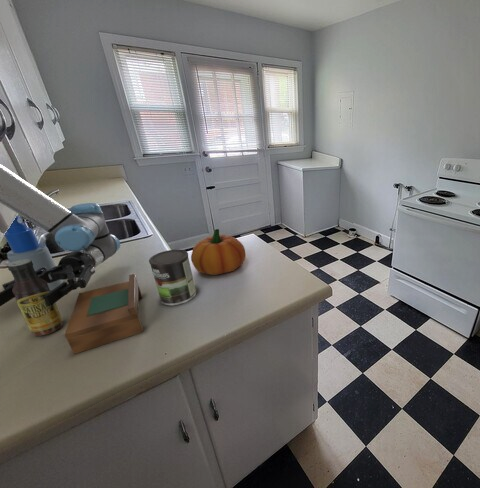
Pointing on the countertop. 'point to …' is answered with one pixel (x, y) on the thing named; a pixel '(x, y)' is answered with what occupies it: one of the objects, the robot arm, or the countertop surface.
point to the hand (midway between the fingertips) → (18, 303)
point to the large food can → (173, 276)
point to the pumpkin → (218, 254)
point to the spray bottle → (29, 248)
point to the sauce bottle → (34, 299)
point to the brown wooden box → (104, 316)
